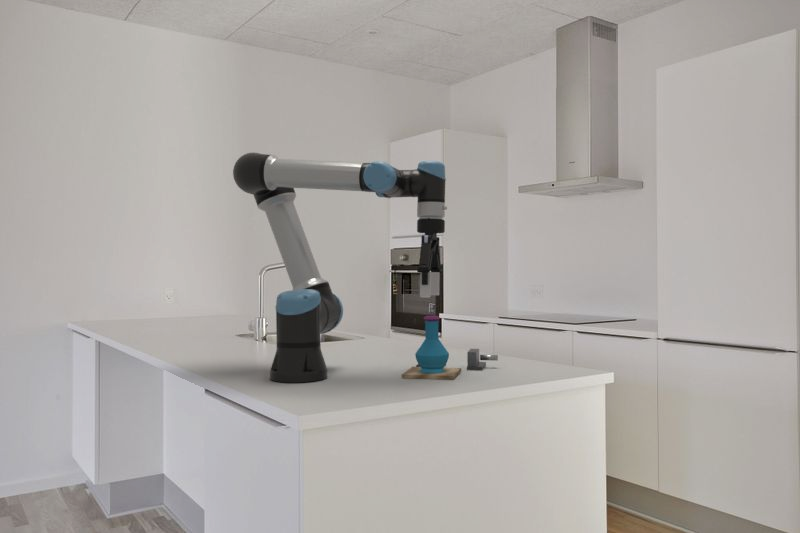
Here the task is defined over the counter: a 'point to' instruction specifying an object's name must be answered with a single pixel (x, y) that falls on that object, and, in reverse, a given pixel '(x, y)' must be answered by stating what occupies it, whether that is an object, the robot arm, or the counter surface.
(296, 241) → the robot arm
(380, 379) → the counter surface
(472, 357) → the vise
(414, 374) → the pad
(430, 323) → the blue vase
